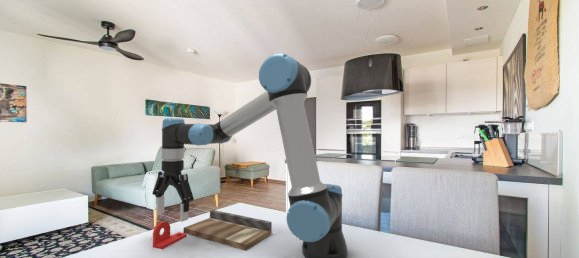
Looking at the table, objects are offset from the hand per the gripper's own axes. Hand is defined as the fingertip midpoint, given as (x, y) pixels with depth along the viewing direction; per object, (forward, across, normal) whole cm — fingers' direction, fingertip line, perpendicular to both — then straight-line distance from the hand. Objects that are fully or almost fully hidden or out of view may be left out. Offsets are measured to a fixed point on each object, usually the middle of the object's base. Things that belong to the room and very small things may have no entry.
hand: (171, 217), depth 96 cm
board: (+9, -12, -16) cm, 22 cm away
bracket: (+10, 0, 0) cm, 10 cm away
